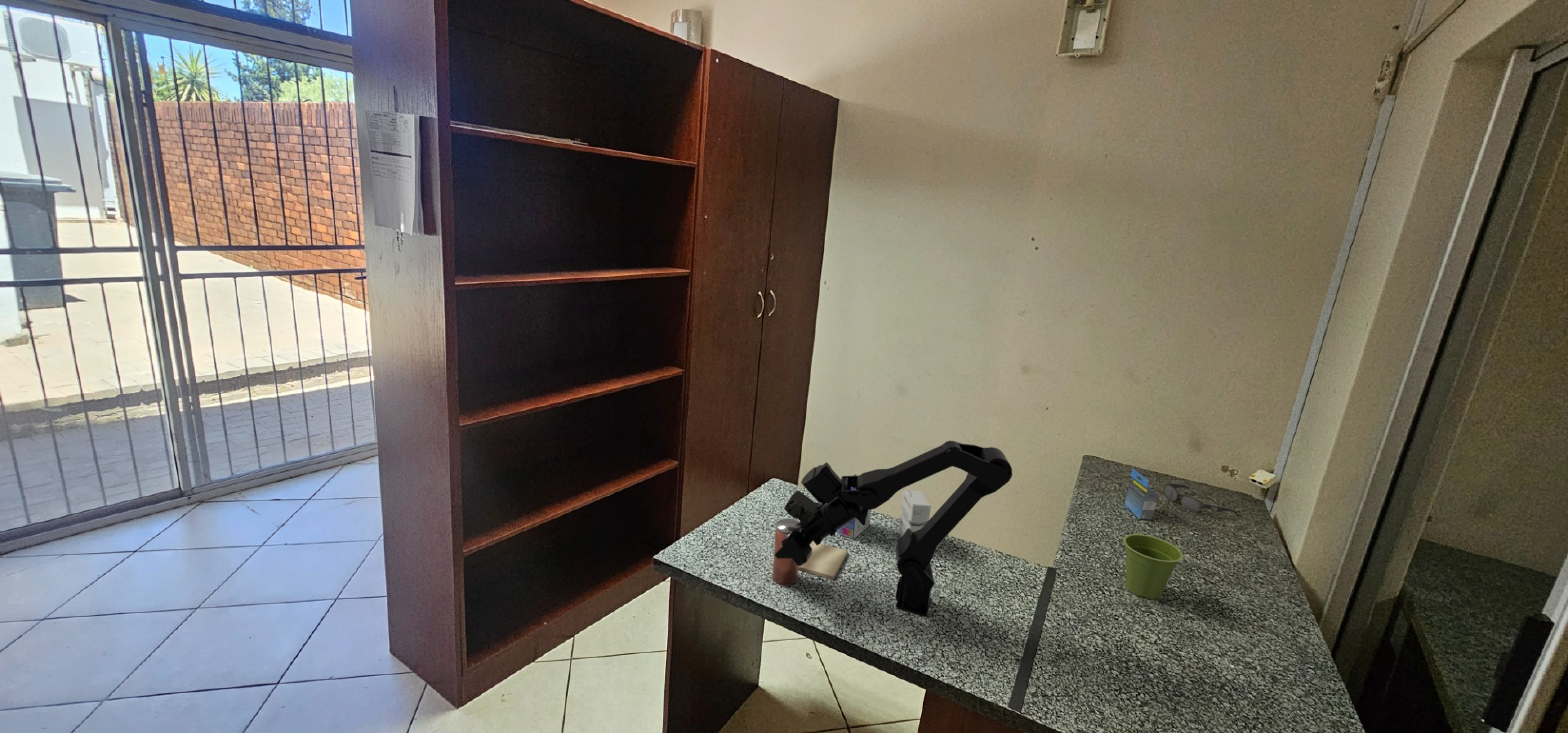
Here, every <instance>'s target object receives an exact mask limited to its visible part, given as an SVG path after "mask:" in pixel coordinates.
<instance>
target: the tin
mask: <svg viewBox="0 0 1568 733" xmlns="http://www.w3.org/2000/svg"><path fill="white" fill-rule="evenodd" d="M799 523H800V520H798V519H795V518H782V519H779V520H777V522H776V523H775V535H774V537H775V538H774V548H773V563H772V580H773V581H774V583H776V584H777V585H781V586H792V585H794V584H795V583H797V581H798V574H799V570H798V565H797V564H796V563H795V562H794V560H793V559H792V558H783V559H777V558H776V556H775V553H776V552H777V551H778V550H779V549H780V548H781V547H782V540H783V539H784V538H785V536H786V535H787V534H788V532H789V531H790V532H791V531H793V530H795V531H799V532H800V530H801V528H802V527H801V526H800V525H799ZM800 533H801V532H800Z"/></svg>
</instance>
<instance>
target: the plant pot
mask: <svg viewBox="0 0 1568 733" xmlns="http://www.w3.org/2000/svg"><path fill="white" fill-rule="evenodd" d="M1122 541H1123V542H1122V543H1123V544H1124V546H1125V548H1124V549H1125V550H1124V551H1125V555H1126V556H1125V586H1126V588H1127V589H1128V591H1130V592H1131V593H1133V594H1134V595H1136V596H1138V597H1144V598H1146V599H1150V600H1155V599H1157V600H1158V599H1160V598H1161V597H1162V595H1163V593H1164V591H1165V589H1166V586H1167V584H1168V582H1169V580H1170V578H1171V576H1172V573H1173V571H1174V569H1175V568H1177V565H1178V563H1179V562H1181V561H1182V560H1183V559H1184V553H1183V552H1182V551H1181V549H1179V548H1178V547H1177V546H1175V545H1174V544H1172V543H1171V542H1169V541H1166V540H1164V539H1161V538H1160V537H1155V536H1152V535H1147V534H1143V533H1142V534H1141V533H1130V534H1127V535H1125V536H1124V537H1123V540H1122Z"/></svg>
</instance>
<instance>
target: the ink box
mask: <svg viewBox="0 0 1568 733" xmlns="http://www.w3.org/2000/svg"><path fill="white" fill-rule="evenodd" d="M931 507H932V505H931V504H930V503H929V501H928V500H927V498H926V497H925V495H924V494H923V492H922V491H918V490H903V493H902V500H901V507H900V515H899V521H898V522H899V523H898V529H897V530H898V534H899V535H900V538H901V537H902V536H903V535H904V533H905V532H906V530H907V529H908V528H910V529H911V531H912V532H915V531H917V530H920V529H921V528H922V527H923V526H924V525H925V524H926V523H927V522H928V521H929V520H930V515H931Z"/></svg>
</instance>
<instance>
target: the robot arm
mask: <svg viewBox="0 0 1568 733" xmlns="http://www.w3.org/2000/svg"><path fill="white" fill-rule="evenodd" d="M952 467H954V468H956V469H960V470H962V471H964V472H966V473H967V474H966V477H965V478H964V480H963V482H962V483H961V484H960V485H959V486H958V487H957V488H956V489H955V491H953V493H952V494H951V495H950V496H949V498H947V499H946V501H945V502H944V503H942V505H941V506H940V507H939V508H938V509H937V510H936V512H934V514H933V515H932V516H931V517H929V521H928V522H927V523H926V524H925V525H924V526H923V527H922V528H921V529H920V530H917V531H915V532H912V531H911V529H910V528H908V529H907V530H906V532H905V533H904V535H903V536H902V537H901V536H900V537H899V538H897V539H896V545H895V558H896V559H895V560H896V569H897V571H898V573H899V574H900V577H899V579H898V581H897V585H896V592H895V600H896V604H895V608H897V609H900V610H903V611H904V610H905V611H908V612H911V613H914V614H918V615H922V616H928V613H929V609H930V604H931V601H932V597H931V596H932V595H931V594H932V588H933V587H934V585H935V580H934V575H933V574H934V573H933V570H932V564H931V563H932V560H933V557H934V556H935V552H936V550H937V547H939V545H940V544H941V543H942V541H944V540H945V538H946V537H947V536H948V535H949V534H950V533H951V532H952V531H953V530H954V529H955V528H956V526H957V525H958V524H959V523H960V522H961V521H962V520H963V519H964V518H965V517H966V516H967V514H968V513H969V512H970V511H971V510H972V509H973V508H974V507H975V506H976V505H977V504H978V502H980V500H981V499H983V498H984V497H986V496H988V495H992V494H994V493H996V492H998V491H999V490H1000V489H1002V488H1003V487H1004V486H1005V485H1006V484H1008V482H1010V480H1011V479H1012V476H1013V468H1012V465H1011V464H1010V462H1009V460H1008V459H1007V457H1006V455H1005V453H1004V452H1003V451H1002V450H1001V449H999V448H997V447H993V446H991V447H990V446H989V447H983V446H979V445H976V444H968V443H961V442H958V441H955V440H948V441H945V442H944V443H943V444H941V445H939V446H936V447H935V448H933V449H931V450H928V451H926V452H924V453H922V454H920V455H917V456H915V457H913V458H910V459H908V460H906V461H904V462H901V463H899V464H897V465H895V466H893V467H890V468H878V469H876V468H875V469H874V470H869V471H865V472H863V473H861V474H860V475H857V476H854V475H842V476H841V477H839V475H838V474H837V473H836V472H835V471H834V470H833V467H831V465H830V464H829V463H828V462H825V463H823V464H819V465H817V466H815V467H813V468H811V469H810V470H809V471H808V472H807V473H806V474H805V475H804V476H803V478H802V479H801V482H800V483H801V485H802V486H803V487H804V488H805V489H806V490H807V492H808V493H810V495H811V496H812V497H813V498H814V499H815V500H816V501H817V502H816V501H815V502H814V500H812V498H810V497H808V496H807V495H806V494H804V492H802V491H800V490H795V491H794V493H793V494H792V495H790V498H789V499H788V501H787V502H786V504H785V506H784V507H783V508H784V511H785V512H786V513H787V514H788V515H789V516H791V517H792V519H794V520H798V521H799V522H800V523H799V525H800V526H801V527H802V528H801V530H800V532H801V533H800V532H799V531H795V530H793V531H791V532H790V531H789V532H788V534H787V535H786V536H785V538H784V539H783V540H782V547H781V548H780V549H779V550H778V551H777V552H776V553H775V556H776V558H777V559H783V558H792V559H793V560H794V562H795V563H796V564H797V565H798V566H801V565H803V564H805V563H806V562H807V561H808V559H809V558H810V556H811V555H812V548H811V546H810V544H811V543H812V541H813V542H814V543H815V544H816V545H819V544H822V542H823V541H824V539H826V538H828V537H829V536H830V537H833V536H835V535H836V533H837V530H838V529H840V528H841V527H843V526H845V525H846V524H848V523H849V522H851V521H853V520H854V519H857V520H858V521H859V522H860V523H861V524H862V525H865V524H866V520H867V514H868V510H871V511H872V510H875V509H878V508H879V507H880V506H883V505H884V503H885V504H886V503H887V502H888V501H890V499H891V498H892V497H893V496H894V495H895V494H896V493H898V492H900V491H901V490H902V489H904V488H906V487H909V486H911V485H913V484H915V483H917V482H921V481H922V480H924V479H927V478H929V477H931V476H934V475H935V474H936V475H937V473H940V472H942V471H945V470H947V469H949V468H952ZM851 487H853V488H855V490H851Z"/></svg>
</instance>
